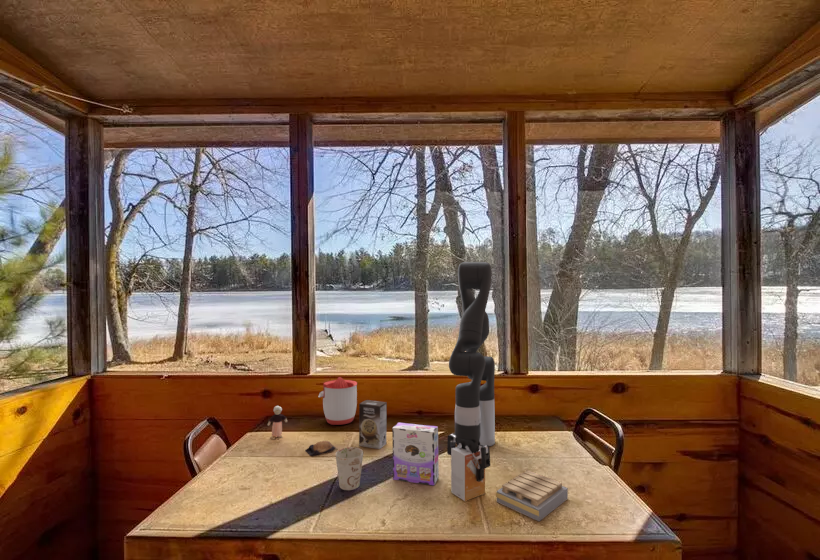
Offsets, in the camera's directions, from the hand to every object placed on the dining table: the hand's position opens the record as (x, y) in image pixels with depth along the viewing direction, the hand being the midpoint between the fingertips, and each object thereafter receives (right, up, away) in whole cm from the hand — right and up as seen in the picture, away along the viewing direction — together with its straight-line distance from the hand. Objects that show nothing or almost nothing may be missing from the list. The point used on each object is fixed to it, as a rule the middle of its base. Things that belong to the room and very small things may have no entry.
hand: (468, 475), depth 117 cm
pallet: (+18, -2, -4) cm, 18 cm away
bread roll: (-50, -7, +32) cm, 60 cm away
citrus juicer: (-50, -7, +63) cm, 80 cm away
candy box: (-15, -6, +9) cm, 19 cm away
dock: (+18, -5, -4) cm, 19 cm away
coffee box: (-31, -6, +36) cm, 48 cm away
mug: (-37, -6, +7) cm, 38 cm away
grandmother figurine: (-71, -6, +45) cm, 84 cm away
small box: (0, -5, 0) cm, 5 cm away
